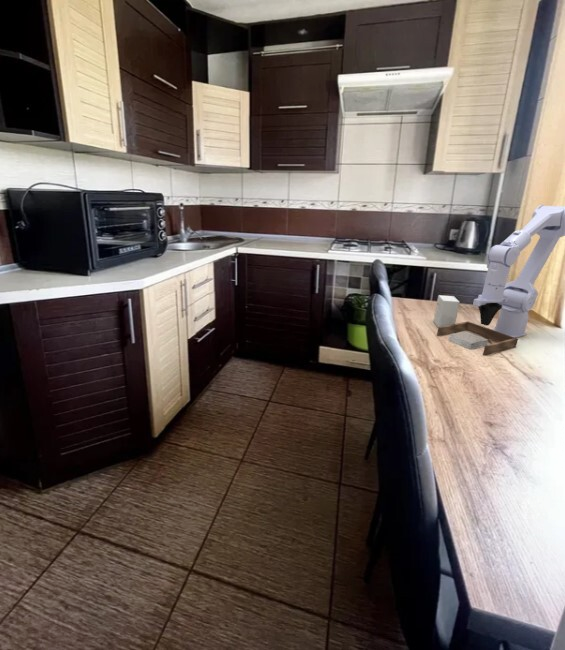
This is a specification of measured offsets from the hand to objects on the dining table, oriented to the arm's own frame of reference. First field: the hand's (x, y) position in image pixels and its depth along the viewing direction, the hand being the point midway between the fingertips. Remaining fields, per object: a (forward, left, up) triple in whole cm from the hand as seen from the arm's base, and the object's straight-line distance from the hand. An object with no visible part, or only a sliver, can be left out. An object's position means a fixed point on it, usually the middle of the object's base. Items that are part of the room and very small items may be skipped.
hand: (484, 324), depth 113 cm
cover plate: (+7, 0, -6) cm, 9 cm away
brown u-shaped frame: (+4, 0, -5) cm, 7 cm away
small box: (0, -15, -6) cm, 16 cm away
